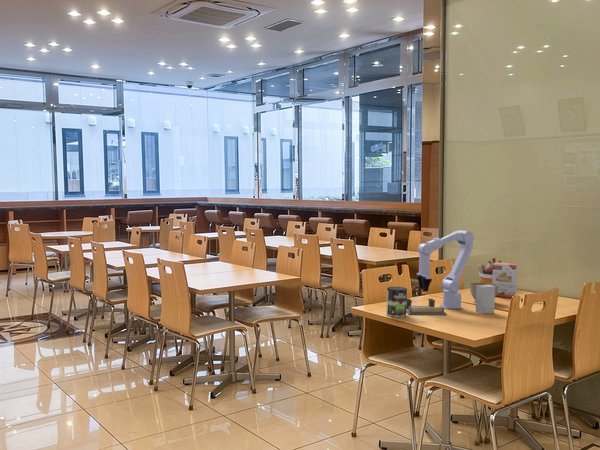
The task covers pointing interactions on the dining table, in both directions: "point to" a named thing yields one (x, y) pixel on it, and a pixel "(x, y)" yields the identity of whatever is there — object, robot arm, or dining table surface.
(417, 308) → the rail
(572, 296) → the dining table surface
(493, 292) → the skincare box
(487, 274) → the bucket of meat
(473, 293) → the planter bowl
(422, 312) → the mat
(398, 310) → the coffee can
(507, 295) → the cracker box
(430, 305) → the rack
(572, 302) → the dining table surface
